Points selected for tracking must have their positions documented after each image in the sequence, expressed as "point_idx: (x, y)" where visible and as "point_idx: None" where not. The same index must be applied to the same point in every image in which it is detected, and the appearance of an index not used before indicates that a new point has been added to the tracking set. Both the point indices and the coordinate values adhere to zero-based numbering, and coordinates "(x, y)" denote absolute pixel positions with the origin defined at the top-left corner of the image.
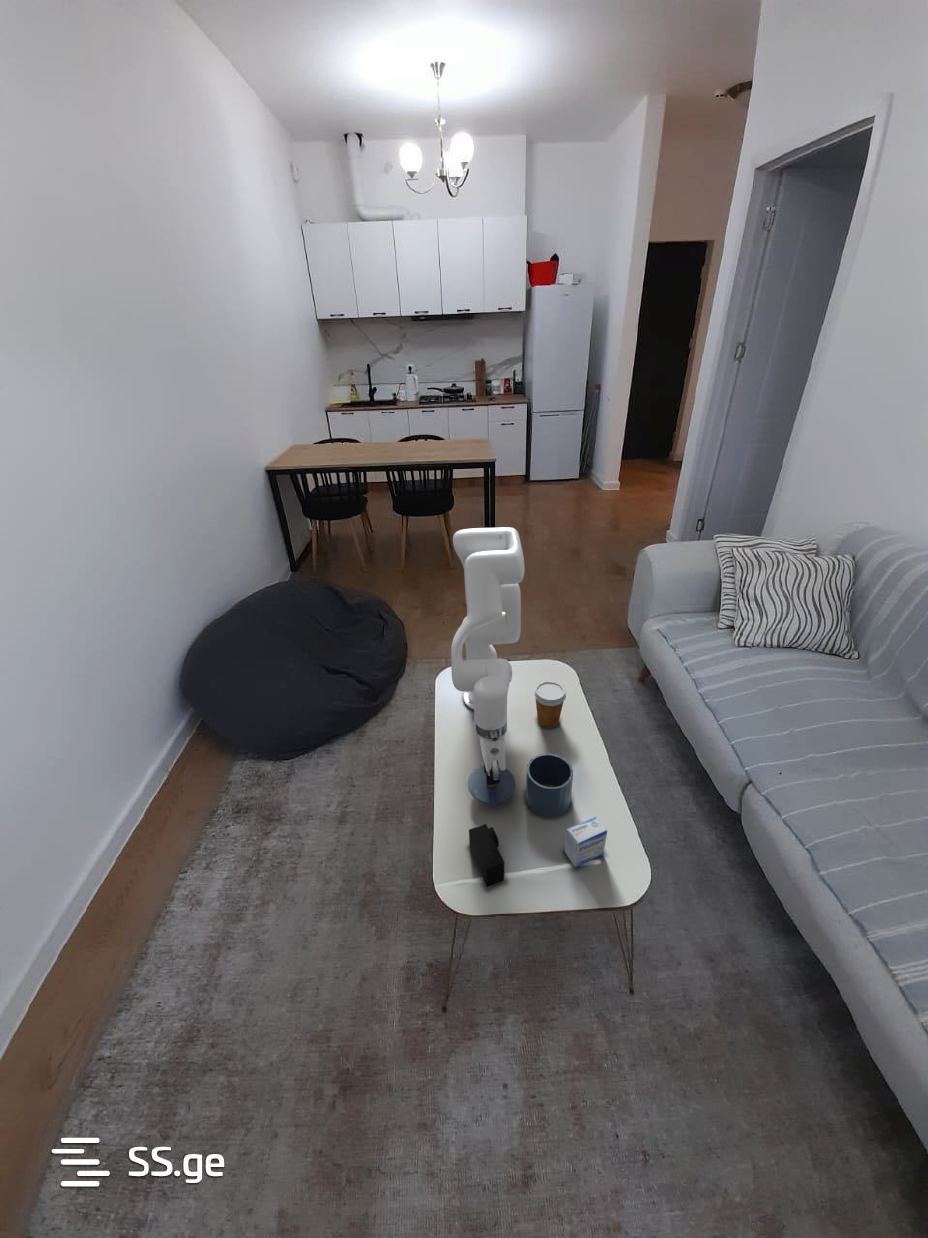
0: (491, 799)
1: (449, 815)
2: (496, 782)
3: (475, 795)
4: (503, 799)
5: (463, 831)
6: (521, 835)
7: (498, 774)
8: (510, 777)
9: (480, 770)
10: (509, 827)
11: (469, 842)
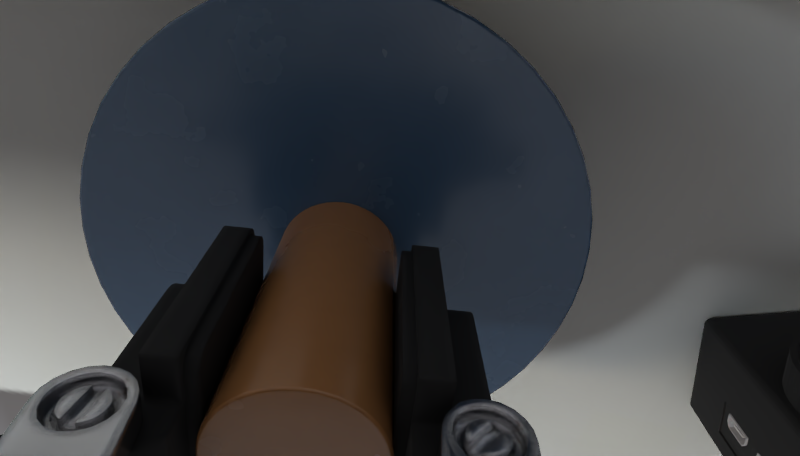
0: (531, 307)
1: None
2: (473, 323)
3: None
4: (579, 204)
5: (567, 406)
6: (796, 75)
7: (529, 442)
8: (311, 29)
9: None
10: (681, 142)
11: (718, 448)
